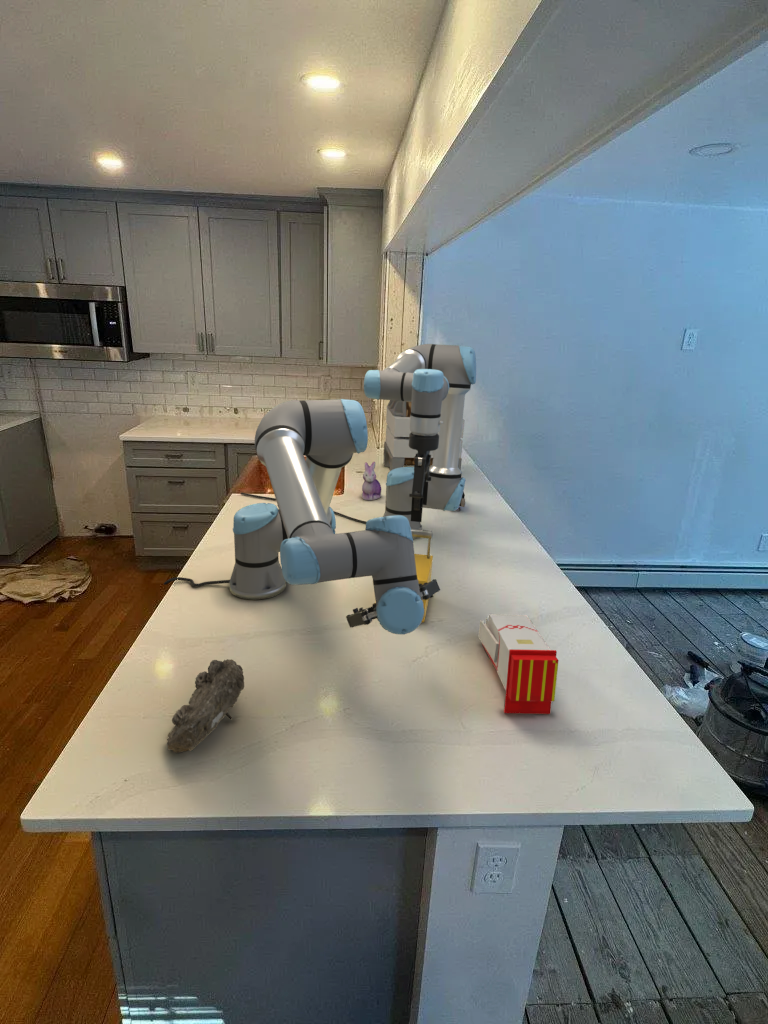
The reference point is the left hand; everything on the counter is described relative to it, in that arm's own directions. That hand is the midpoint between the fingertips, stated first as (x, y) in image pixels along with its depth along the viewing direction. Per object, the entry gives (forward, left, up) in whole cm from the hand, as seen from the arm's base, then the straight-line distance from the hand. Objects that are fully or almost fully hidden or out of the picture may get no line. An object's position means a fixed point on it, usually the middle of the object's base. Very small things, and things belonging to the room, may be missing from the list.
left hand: (391, 601), depth 125 cm
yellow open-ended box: (+2, +24, -14) cm, 28 cm away
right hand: (+2, +30, +11) cm, 32 cm away
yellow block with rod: (+2, +24, -3) cm, 25 cm away
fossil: (-30, -28, -14) cm, 43 cm away
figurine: (-26, +111, -14) cm, 115 cm away
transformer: (-10, +154, -14) cm, 155 cm away
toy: (+27, -1, -14) cm, 31 cm away
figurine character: (+9, +109, -14) cm, 110 cm away
